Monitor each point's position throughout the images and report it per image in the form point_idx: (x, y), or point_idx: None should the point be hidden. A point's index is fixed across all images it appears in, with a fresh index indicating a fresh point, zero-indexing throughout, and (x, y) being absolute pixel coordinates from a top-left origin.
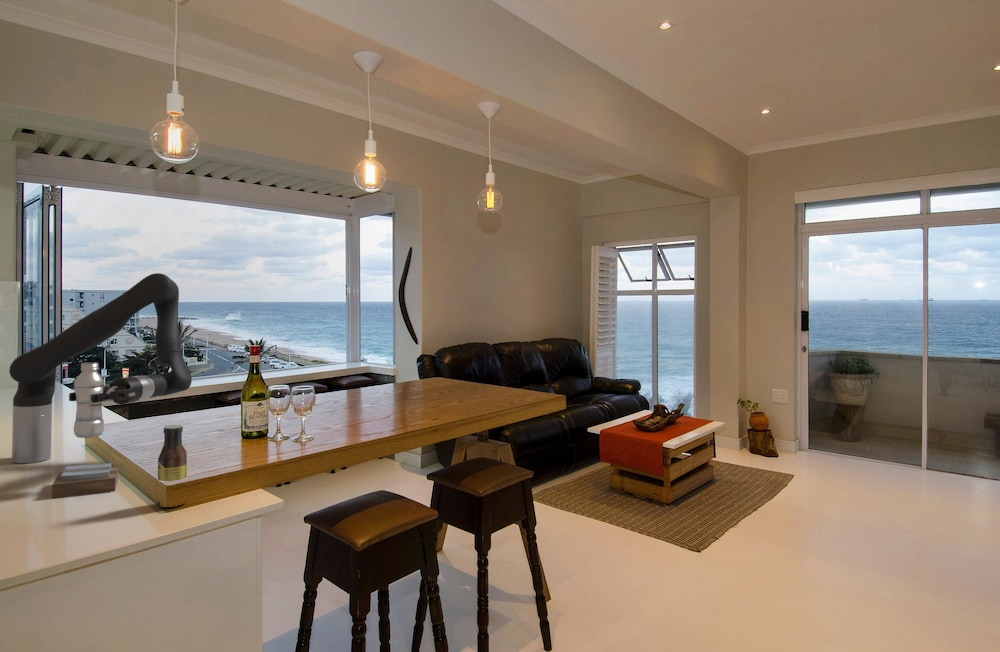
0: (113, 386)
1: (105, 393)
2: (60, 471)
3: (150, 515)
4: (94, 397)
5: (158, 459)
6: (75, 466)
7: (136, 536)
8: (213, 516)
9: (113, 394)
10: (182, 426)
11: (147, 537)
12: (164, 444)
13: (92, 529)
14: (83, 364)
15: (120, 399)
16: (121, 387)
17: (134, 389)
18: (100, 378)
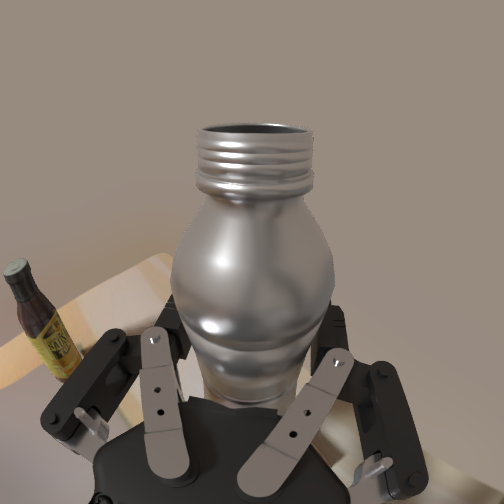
0: (178, 439)
1: (165, 327)
2: (329, 464)
3: (88, 339)
4: None
5: (54, 308)
6: None
7: (93, 294)
8: None
9: (128, 337)
10: (4, 269)
11: (85, 292)
12: (37, 287)
13: (137, 307)
14: (263, 128)
15: (110, 372)
16: None
17: (44, 428)
18: (178, 244)
